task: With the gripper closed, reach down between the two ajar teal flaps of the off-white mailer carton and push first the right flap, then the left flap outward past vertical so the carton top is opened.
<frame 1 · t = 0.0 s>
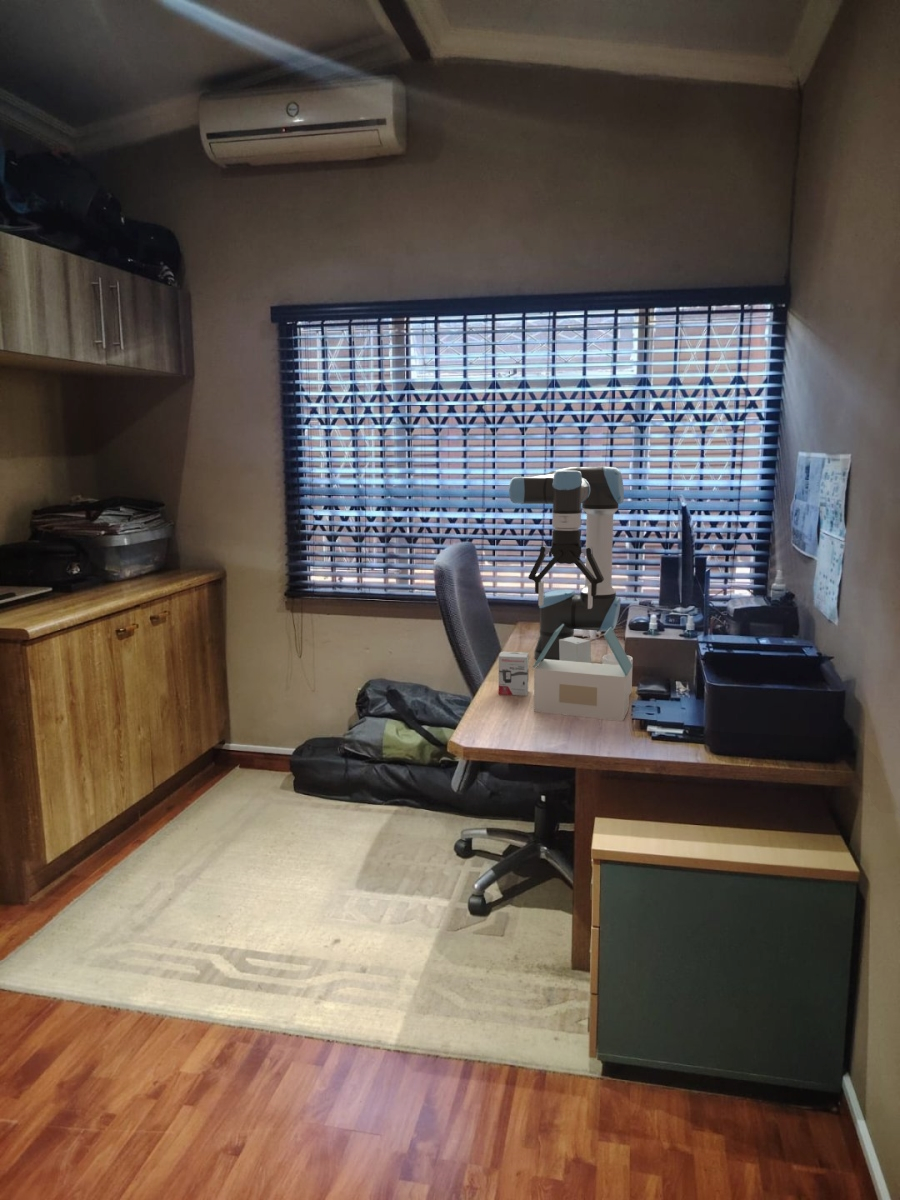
hand: (565, 606, 211), 28 cm above the table, fingers open, 13 cm apart
flap 2: (618, 650, 205), point 17 cm above the table, hinge at 60.0°
flap 1: (548, 645, 212), point 17 cm above the table, hinge at 60.0°
ink box: (513, 693, 228), on the table
skincare box: (574, 688, 232), on the table
mug: (616, 695, 225), on the table
carton: (581, 709, 212), on the table
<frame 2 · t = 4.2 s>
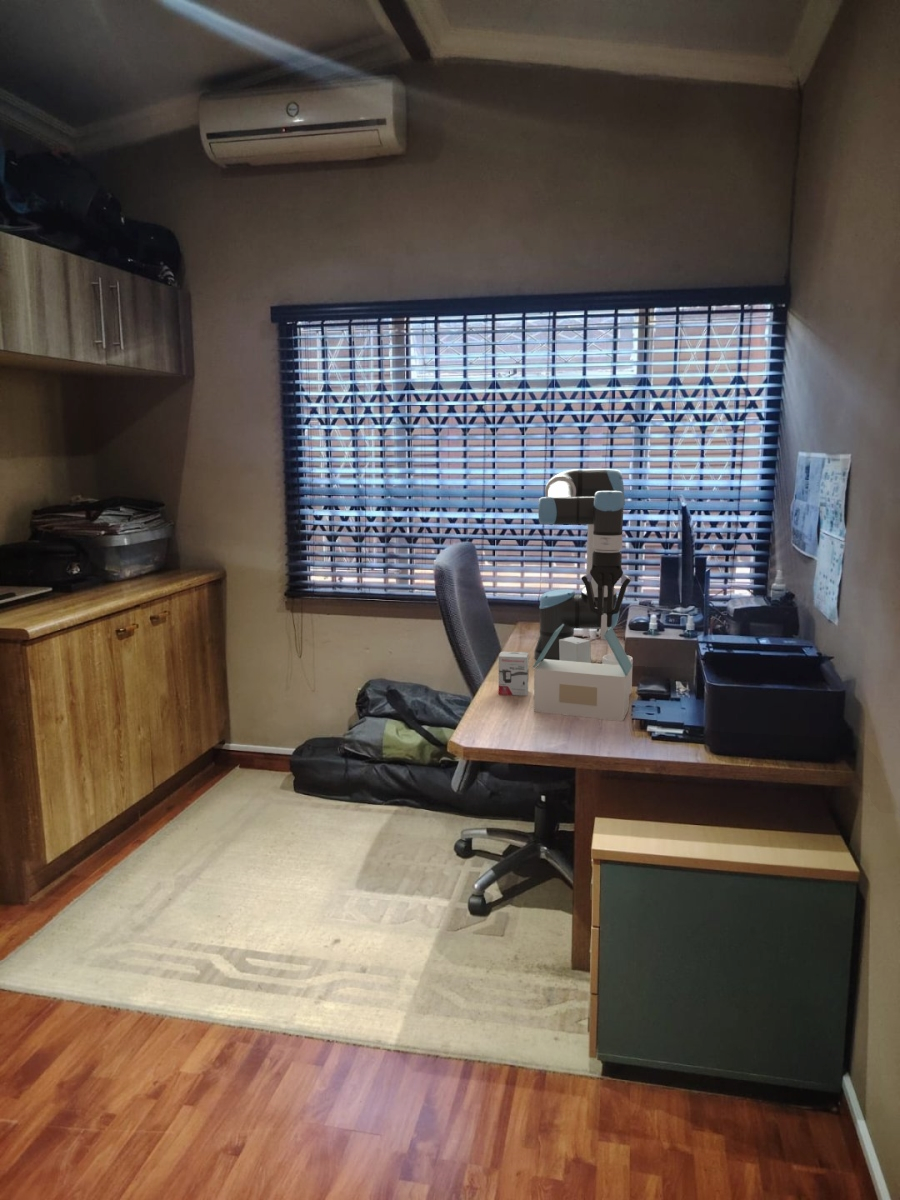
hand: (604, 638, 206), 21 cm above the table, fingers closed
flap 2: (618, 650, 205), point 17 cm above the table, hinge at 60.5°, touching gripper
everything else where it was.
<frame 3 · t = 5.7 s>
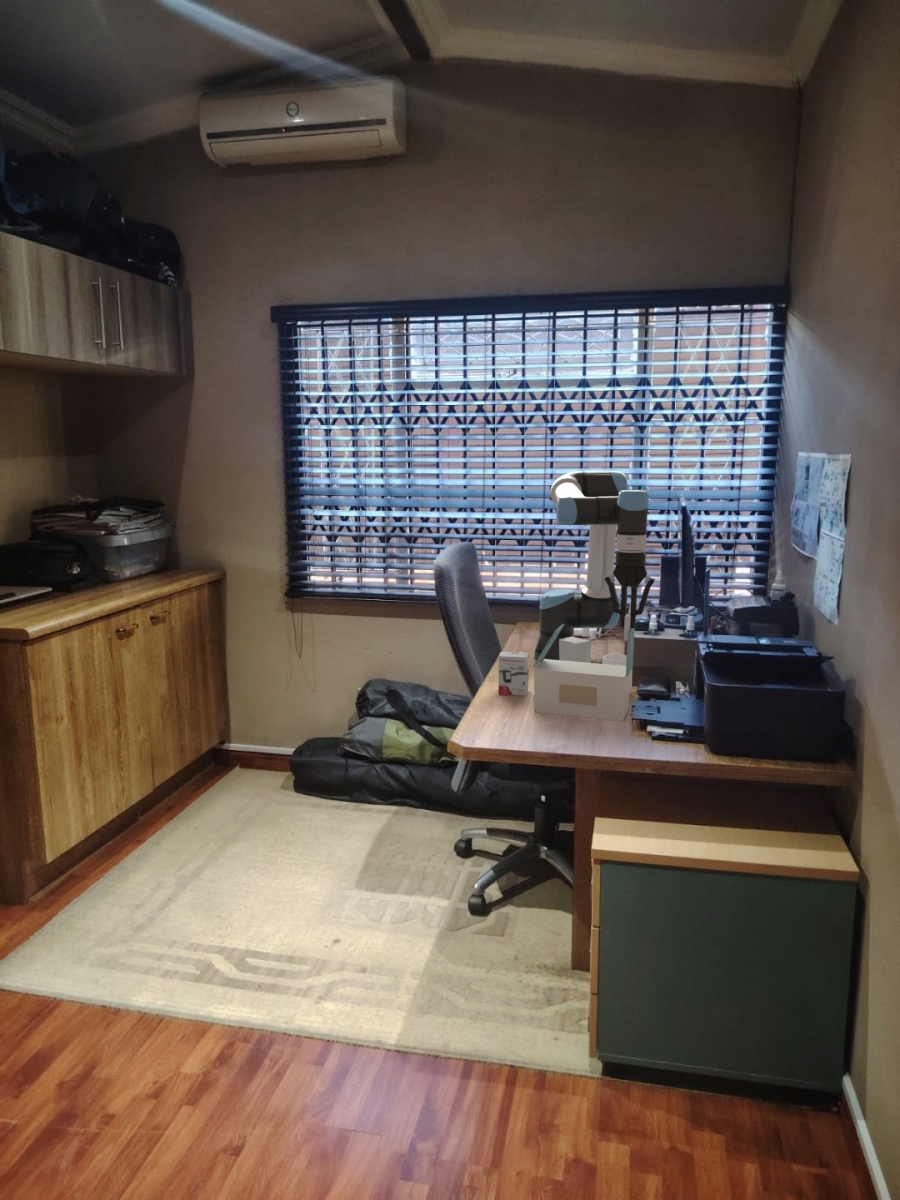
hand: (627, 639, 204), 21 cm above the table, fingers closed
flap 2: (630, 649, 204), point 18 cm above the table, hinge at 91.0°, touching gripper
everything else where it was.
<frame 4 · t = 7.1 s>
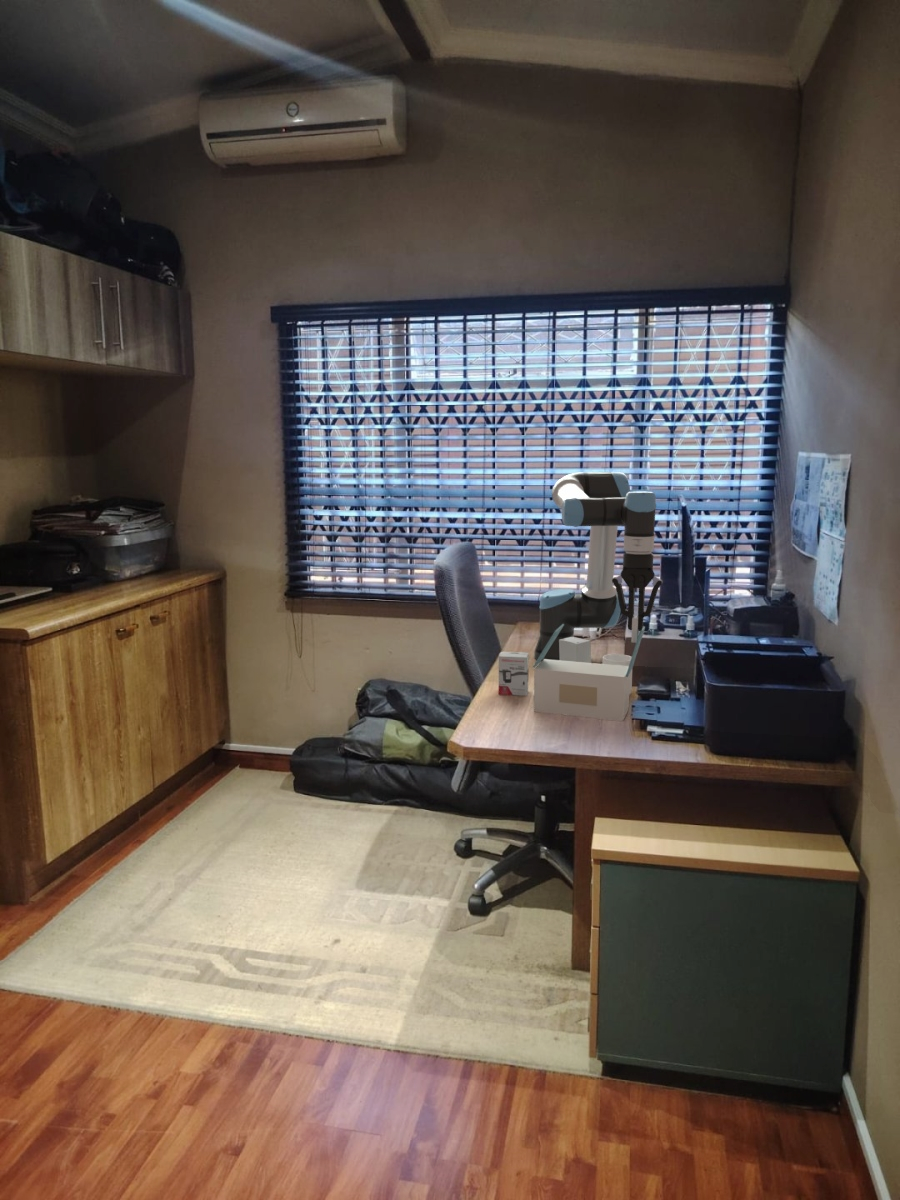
hand: (634, 641, 203), 20 cm above the table, fingers closed
flap 2: (635, 651, 204), point 18 cm above the table, hinge at 104.2°, touching gripper
everything else where it was.
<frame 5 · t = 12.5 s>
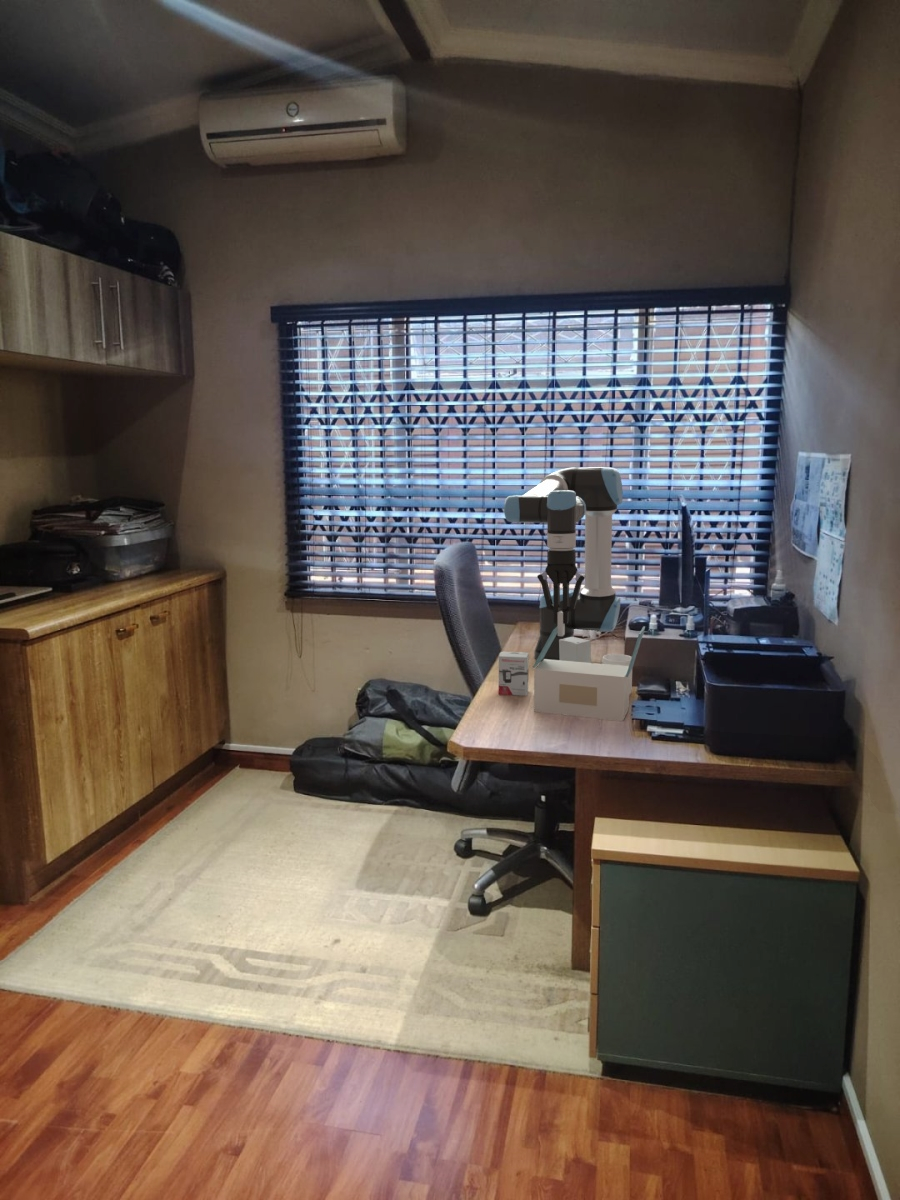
hand: (561, 635, 210), 21 cm above the table, fingers closed
flap 2: (635, 651, 204), point 18 cm above the table, hinge at 104.3°
flap 1: (547, 645, 212), point 18 cm above the table, hinge at 62.6°, touching gripper
everything else where it was.
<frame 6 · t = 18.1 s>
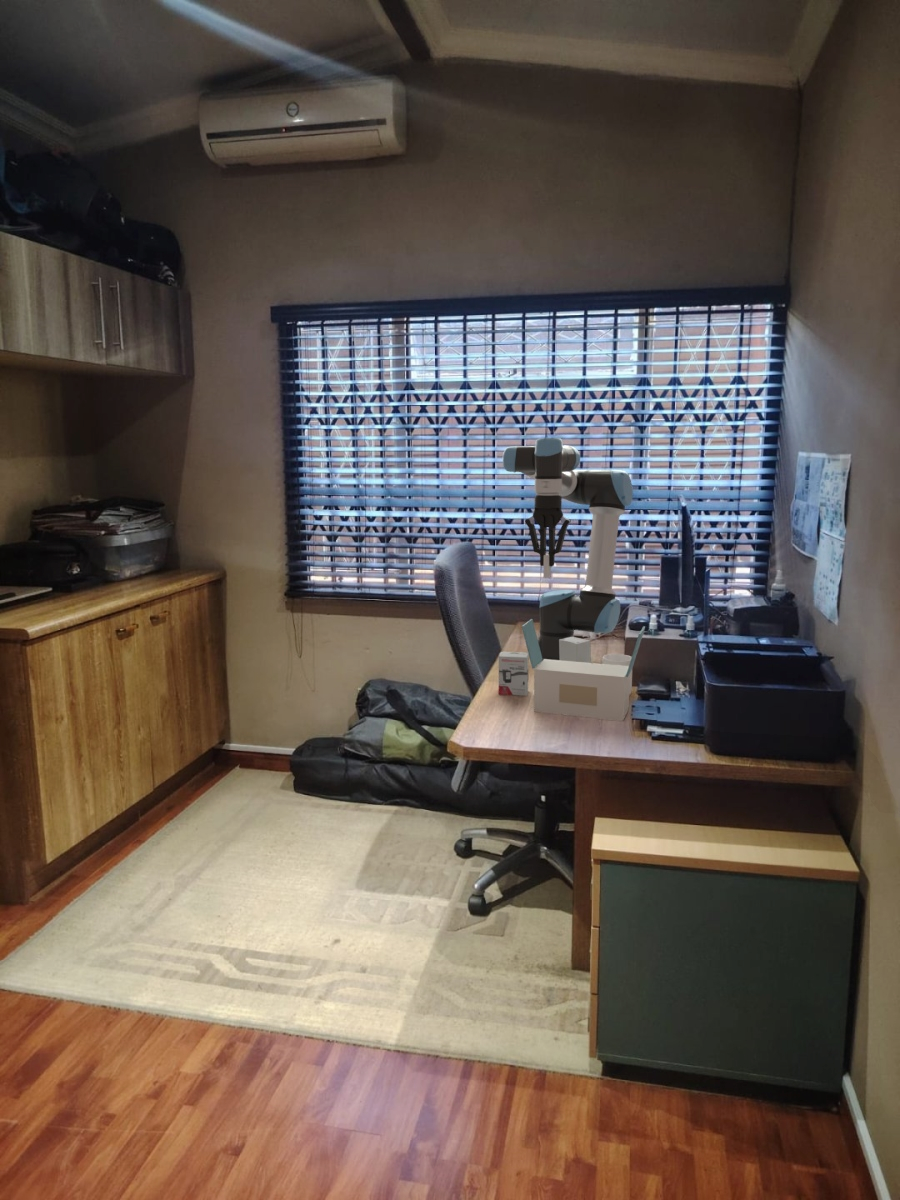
hand: (547, 577, 221), 34 cm above the table, fingers closed
flap 1: (532, 643, 214), point 18 cm above the table, hinge at 104.9°
everything else where it was.
at the end: flap 2 at +104° (first picture: +60°); flap 1 at +105° (first picture: +60°) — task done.
